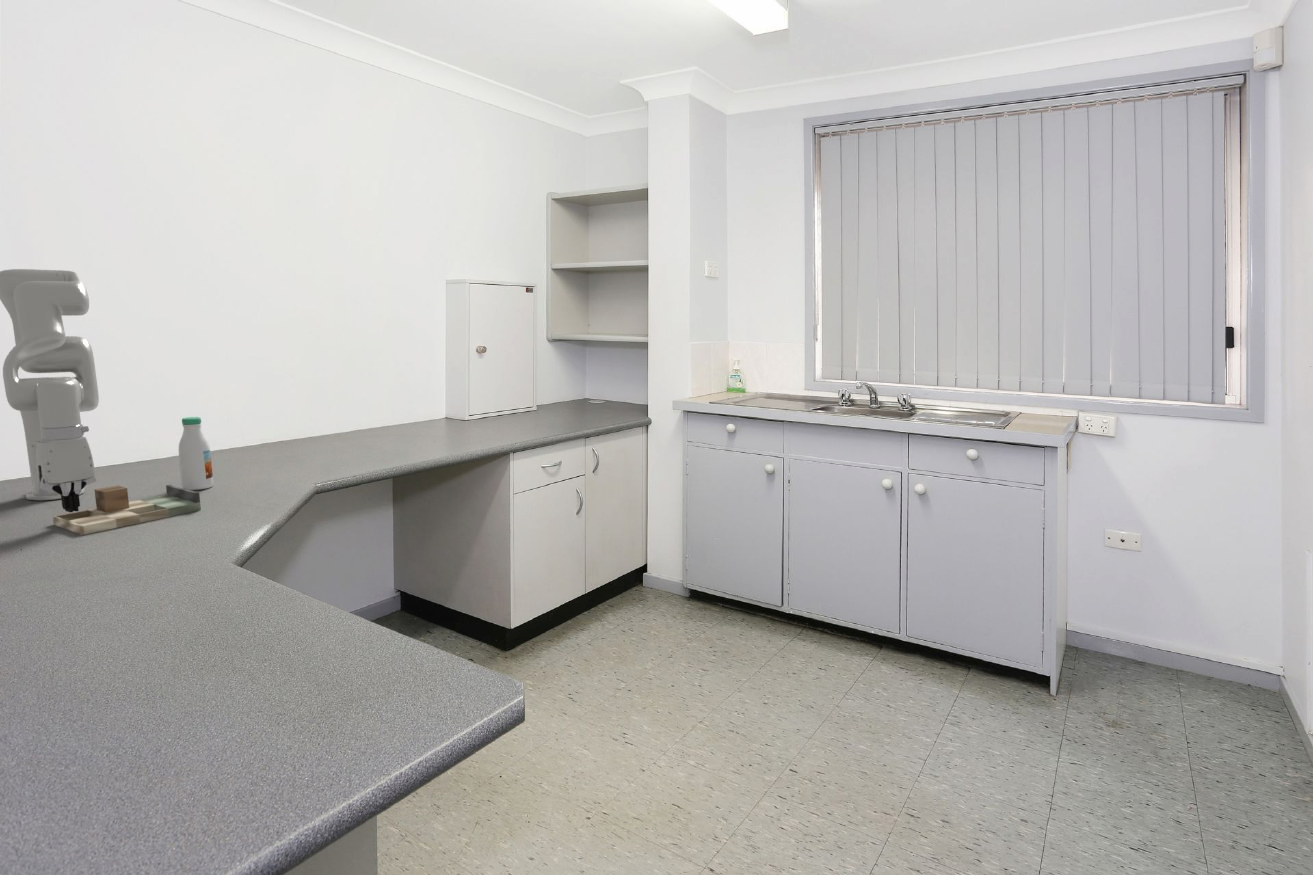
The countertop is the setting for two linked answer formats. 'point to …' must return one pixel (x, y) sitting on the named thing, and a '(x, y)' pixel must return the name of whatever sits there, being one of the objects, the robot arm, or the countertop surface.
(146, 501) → the trap board
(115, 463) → the countertop surface
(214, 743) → the countertop surface
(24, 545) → the countertop surface
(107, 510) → the walnut block
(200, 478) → the milk bottle
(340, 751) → the countertop surface
